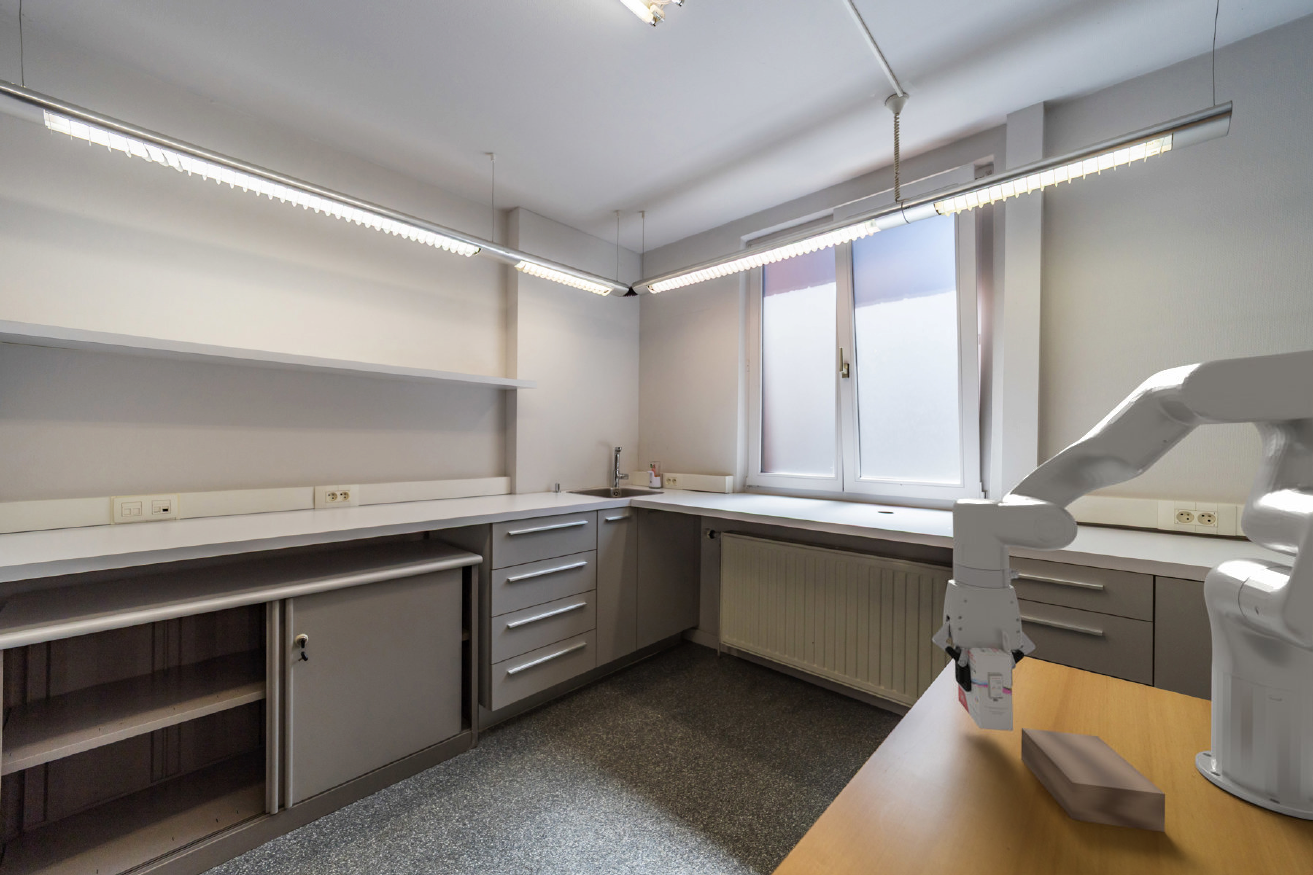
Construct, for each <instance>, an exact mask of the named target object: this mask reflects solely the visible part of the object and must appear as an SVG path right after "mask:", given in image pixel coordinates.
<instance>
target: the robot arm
mask: <svg viewBox="0 0 1313 875" xmlns="http://www.w3.org/2000/svg"><path fill="white" fill-rule="evenodd" d="M1241 423H1243V424H1244V423H1245V424H1247V423H1252V424H1253V425H1254V427H1255V428H1256V430H1257V431H1258V433H1259V435H1260V439H1261V442H1262V452H1261V456H1260V461H1259V465H1258V468H1257V471H1256V472H1255V476H1254V479H1253V482H1252V484H1251V488H1250V491H1249V493H1248V496H1247V499H1246V501H1245V504H1244V507H1243V511H1242V514H1241V519H1240V527H1241V530H1242V532H1243V534H1244V535H1245V537H1246V538H1247V539H1248V540H1249V541H1251V542H1252V543H1254V544H1255V545H1257V546H1259V547H1261V548H1264V549H1266V550H1269V551H1272V552H1275V553H1279V554H1281V555H1282V554H1283V555H1285V556H1289V557H1294V559H1295V560H1294V561H1293V564H1292V566H1290V565H1287V564H1283V563H1280V562H1275V561H1272V560H1267V559H1261V558H1254V557H1237V558H1236V557H1235V558H1231V559H1227V560H1223V561H1221V562H1219V563H1217V564H1215V565H1214V566H1213V567H1212V568H1211V569H1210V570H1209V572H1208V573H1207V575H1206V576H1205V579H1204V584H1203V595H1204V601H1205V605H1206V606H1205V607H1206V609H1207V614H1208V618H1209V624H1210V632H1211V648H1212V650H1211V651H1212V652H1211V653H1212V654H1211V655H1212V656H1211V659H1212V661H1211V722H1210V723H1211V725H1210V726H1211V728H1210V730H1211V731H1210V736H1211V737H1210V750H1203V751H1200V752H1198V753H1197V754H1196V755H1195V757H1194V758H1195V760H1194V761H1195V763H1194V764H1195V767H1196V768H1197V770H1198V772H1200V773H1201V774H1202V776H1204V777H1205V778H1206V779H1208V780H1209V781H1210V782H1211V783H1213V784H1214V785H1216V786H1218V787H1220V788H1221V789H1223V790H1224V791H1226V792H1228V793H1229V794H1232V795H1234V796H1236V797H1238V798H1240V799H1242V800H1245V801H1247V802H1249V803H1252V804H1255V805H1257V806H1259V807H1261V808H1265V809H1267V810H1271V811H1273V812H1276V813H1280V814H1283V815H1286V816H1291V817H1295V818H1300V819H1304V820H1310V821H1311V820H1312V821H1313V349H1310V350H1299V351H1290V352H1282V353H1275V354H1266V355H1264V354H1263V355H1254V356H1248V357H1247V356H1245V357H1237V358H1235V357H1234V358H1225V359H1216V360H1213V359H1212V360H1208V361H1203V362H1202V361H1201V362H1197V363H1192V364H1185V365H1181V366H1176V367H1172V368H1171V367H1170V368H1168V369H1165V370H1161V371H1159V372H1157V373H1155V374H1153V375H1152V376H1150V377H1149V378H1147V379H1146V380H1145V381H1144V382H1142V383H1141V384H1140V385H1139V386H1138V387H1137V388H1136V389H1135V390H1134V391H1132V392H1131V393H1130V394H1129V395H1127V397H1125V399H1124V400H1122V401H1121V402H1120V403H1119V404H1118V405H1117V406H1116V407H1115V408H1114V409H1113V410H1112V411H1111V412H1109V413H1108V414H1107V415H1106V416H1105V417H1104V418H1103V419H1101V420H1100V422H1098V423H1097V424H1096V425H1095V426H1094V427H1093V428H1092V429H1090V430H1089V432H1087V433H1086V434H1085V435H1084V436H1082V437H1081V438H1080V439H1078V440H1077V441H1075V442H1074V443H1072V444H1071V445H1069V446H1067V447H1066V448H1065V449H1063V450H1061V451H1060V452H1058V453H1057V454H1056V455H1054V456H1053V457H1051V458H1050V459H1048V460H1046V461H1045V462H1043V463H1042V464H1041V465H1039V466H1038V467H1036V468H1035V469H1034V470H1032V471H1031V472H1030V473H1029V474H1027V475H1026V476H1025V477H1023V479H1022V480H1021V481H1019V482H1018V483H1017V484H1016V485H1015V486H1014V487H1013V488H1012V489H1010V490H1009V492H1007V494H1005V495H1004V497H1003V498H1002V499H1001V500H997V499H991V498H980V497H979V498H977V497H976V498H974V497H970V498H960V499H957V500H956V501H955V502H954V503H953V505H952V537H953V538H952V539H953V542H952V543H953V551H952V552H953V579H949V580H948V582H947V585H946V590H945V594H944V601H943V602H944V603H943V615H942V617H943V619H942V626H941V627H940V628H939V629H938V631H937V632H936V633H935V634H934V635H933V636H932V638H931V640H932V642H933V643H934V644H935V645H936V646H938V647H939V648H940V649H941V650H943V651H944V652H945V653H946V654H948V655H949V656H950V658H952V659H953V660H954V670H955V671H954V673H955V674H954V676H955V681H956V682H957V684H958V683H959V685H960V686H961V687H962V688H963V689H964V690H965V691H966V692H970V691H971V671H970V667H969V666H968V665H967V661H968V658H969V649H970V648H994V649H1002V650H1003V638H1002V631H1004V632H1005V633H1006V634H1007V635H1008V638H1009V645H1010V654H1011V667H1012V670H1015V669H1016V667H1017V664H1018V663H1019V662H1021V660H1023V659H1024V658H1025V656H1026V655H1028V654H1031V652H1033V651H1034V650H1035V649H1036V645H1035V643H1034V642H1033V641H1032V640H1031V639H1030V638H1029V637H1028V635H1026V633H1025V632H1024V631H1023V627H1022V626H1023V625H1022V618H1021V612H1020V605H1019V601H1018V598H1017V594H1016V591H1015V586H1012V580H1013V579H1019V577H1020V576H1019V571H1018V570H1017V569H1013V568H1011V567H1010V547H1017V548H1022V549H1027V550H1034V551H1043V552H1052V551H1053V552H1054V551H1060V550H1062V549H1064V548H1066V547H1068V546H1070V545H1071V544H1072V543H1073V542H1074V541H1075V539H1076V538H1077V536H1078V532H1079V531H1078V529H1079V528H1078V524H1077V521H1076V519H1075V517H1074V515H1072V514H1071V513H1070V512H1069V510H1067V509H1066V508H1067V507H1068V506H1069V505H1070V504H1072V503H1073V502H1075V501H1077V500H1078V499H1079V498H1082V497H1083V496H1085V495H1087V494H1089V493H1091V492H1094V491H1097V490H1099V489H1102V488H1107V487H1109V486H1115V485H1118V484H1122V483H1124V482H1127V481H1129V480H1133V479H1135V478H1138V477H1140V476H1141V475H1143V474H1144V473H1146V472H1147V471H1148V470H1149V469H1150V468H1151V467H1153V466H1154V465H1155V464H1156V463H1158V461H1160V460H1161V458H1163V457H1164V456H1165V455H1167V453H1168V452H1170V451H1171V450H1172V449H1173V448H1174V447H1176V445H1178V444H1179V443H1181V442H1182V440H1183V439H1185V438H1186V437H1187V436H1189V435H1190V434H1191V433H1192V432H1193V431H1194V430H1196V429H1197V428H1198V427H1199V426H1201V425H1221V424H1241ZM948 639H952V642H953V644H954V645H953V646H951V645H950V644H949V643H948V642H947V640H948ZM1012 686H1013V681H1012Z"/></svg>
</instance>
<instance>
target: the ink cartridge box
mask: <svg viewBox="0 0 1313 875" xmlns="http://www.w3.org/2000/svg"><path fill="white" fill-rule="evenodd" d="M1002 638H1003V650H1002V649H994V648H970V649H969V658H968V661H967V665H968V666H969V667H970V671H971V691H970V692H966V691H965V690H964V689H963V688H962V687H961V686H960V685H959V683H958V682H957V685H958V686H957V688H958V690H957V693H958V694H957V695H958V702H959V703H960V704H961V705H962V707H963V708H964V709H965V711H966V712H967V713H968V715H969V716H970V718H972V720H973V721H974V723H975V724H976V725H977V727H978V728H979V729H981V730H982V729H984V730H994V731H995V730H996V731H1005V732H1006V731H1009V732H1013V731H1014V712H1013V711H1014V710H1013V708H1014V707H1013V705H1014V704H1013V685H1012V682H1013V669H1012V667H1011V654H1010V645H1009V638H1008V635H1007V634H1006V633H1005V632H1004V631H1002Z"/></svg>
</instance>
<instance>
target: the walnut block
mask: <svg viewBox="0 0 1313 875" xmlns="http://www.w3.org/2000/svg"><path fill="white" fill-rule="evenodd" d="M1020 741H1021V750H1020V751H1021V753H1020V754H1021V756H1020V758H1021V761H1023V763H1024V764H1025V766H1026V767H1028V769H1029V770H1030V772H1032V773H1033V775H1034V776H1035V778H1037V780H1038V781H1039V782H1040V783H1041V784H1042V785H1043V787H1044V788H1045V789H1046V790H1047V791H1048V793H1049V794H1050V795H1051V796H1052V797H1053V798H1054V800H1055V801H1056V802H1057V803H1058V804H1059V806H1060V807H1062V809H1063V810H1064V811H1065V812H1066V813H1067V815H1068V816H1069V817H1070V819H1072V820H1073V821H1074V820H1075V821H1082V822H1088V823H1095V824H1103V825H1109V826H1116V827H1117V826H1119V827H1125V828H1126V827H1127V828H1132V829H1133V828H1134V829H1140V830H1147V831H1148V830H1149V831H1156V832H1161V833H1164V832H1165V831H1166V830H1165V828H1166V826H1165V825H1166V823H1165V822H1166V820H1165V818H1166V816H1165V815H1166V793H1165V792H1163V791H1162V790H1161V789H1160V788H1159V787H1158V786H1156V785H1155V784H1154V783H1153V782H1152V781H1151V780H1149V779H1148V778H1147V777H1146V776H1145V775H1143V773H1141V771H1139V770H1138V769H1137V768H1136V767H1134V766H1133V765H1132V764H1131V763H1129V762H1128V761H1127V760H1126V759H1125V758H1124V757H1122V755H1120V754H1119V753H1118V752H1117V751H1116V750H1115V749H1113V748H1112V747H1111V746H1110V745H1108V743H1106V742H1105V741H1104V740H1103V739H1101V738H1100V737H1099V736H1098V735H1091V734H1090V735H1089V734H1082V733H1070V732H1064V731H1063V732H1061V731H1054V730H1053V731H1052V730H1046V729H1045V730H1043V729H1035V728H1034V729H1033V728H1024V727H1021V740H1020Z"/></svg>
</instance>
